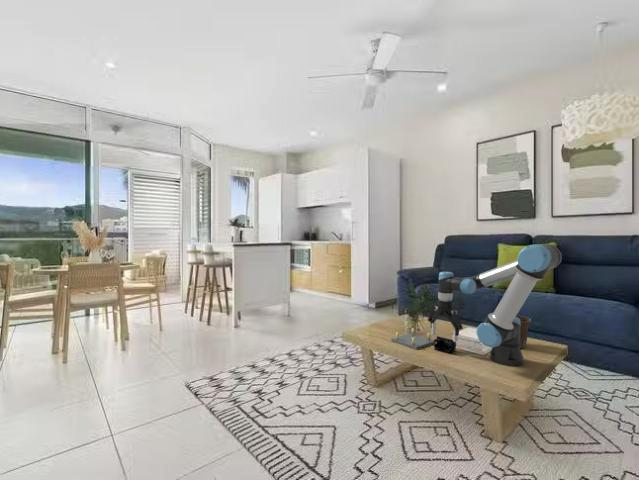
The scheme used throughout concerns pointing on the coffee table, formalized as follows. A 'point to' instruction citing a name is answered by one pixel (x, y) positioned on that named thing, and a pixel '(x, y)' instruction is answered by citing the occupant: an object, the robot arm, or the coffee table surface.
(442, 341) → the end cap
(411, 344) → the standoff plate
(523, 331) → the plant pot
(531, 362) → the coffee table surface
